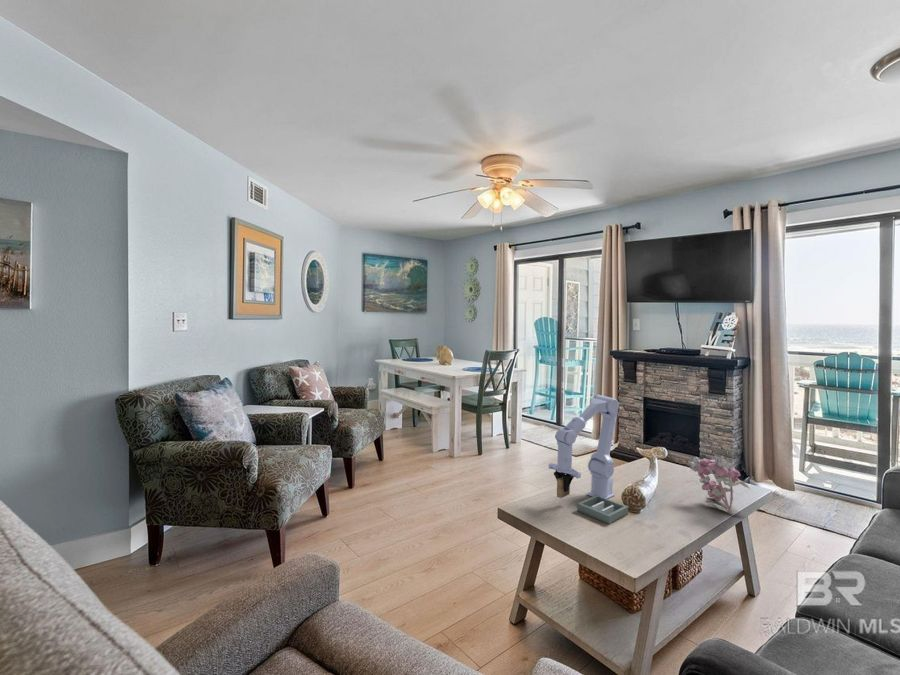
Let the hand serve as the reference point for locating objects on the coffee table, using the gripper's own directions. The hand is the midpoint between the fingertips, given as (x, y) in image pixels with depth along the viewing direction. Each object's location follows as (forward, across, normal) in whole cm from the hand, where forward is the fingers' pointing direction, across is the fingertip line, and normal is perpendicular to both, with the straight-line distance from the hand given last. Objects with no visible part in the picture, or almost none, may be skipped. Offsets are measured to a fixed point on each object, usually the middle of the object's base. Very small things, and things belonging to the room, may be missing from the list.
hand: (563, 490), depth 182 cm
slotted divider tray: (+6, +14, +7) cm, 17 cm away
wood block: (+2, 0, 0) cm, 2 cm away
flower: (+7, +39, +54) cm, 67 cm away
